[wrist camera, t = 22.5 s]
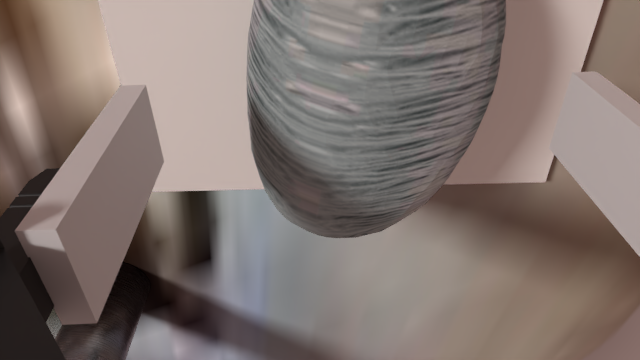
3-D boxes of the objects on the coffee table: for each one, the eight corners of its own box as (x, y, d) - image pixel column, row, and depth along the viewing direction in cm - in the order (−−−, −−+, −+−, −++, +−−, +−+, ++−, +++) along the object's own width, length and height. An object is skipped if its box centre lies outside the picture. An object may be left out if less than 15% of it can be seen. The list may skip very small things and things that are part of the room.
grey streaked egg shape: (442, 229, 24) (397, 331, 15) (277, 163, 27) (155, 217, 18) (556, -65, 19) (591, -171, 10) (344, -108, 22) (224, -223, 13)
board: (153, 183, 27) (150, 191, 26) (52, -200, 17) (42, -201, 17) (539, 174, 27) (545, 182, 27) (657, -209, 17) (670, -211, 17)
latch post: (97, 303, 33) (20, 473, 24) (79, 262, 30) (-13, 433, 22) (155, 302, 33) (100, 471, 24) (142, 260, 30) (75, 430, 22)
